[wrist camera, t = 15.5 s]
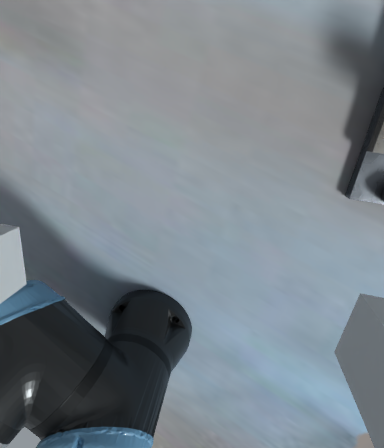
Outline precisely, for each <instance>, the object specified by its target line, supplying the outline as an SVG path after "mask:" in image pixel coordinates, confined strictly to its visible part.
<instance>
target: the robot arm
mask: <svg viewBox="0 0 384 448" xmlns="http://www.w3.org/2000/svg"><path fill="white" fill-rule="evenodd" d="M191 333H192V326H191V322H190V319H189V317H188V315H187V313H186V311H185V310H184V309H183V308H182V306H181V305H180V304H179V303H177V302H176V301H175V300H173V299H172V298H170V297H169V296H167V295H164V294H162V293H159V292H156V291H150V290H139V291H134V292H131V293H128V294H126V295H125V296H123V297H122V298H121V299H120V300H119V301H118V302H117V304H116V305H115V307H114V308H113V310H112V311H111V313H110V316H109V319H108V324H107V329H106V333H105V337H104V336H103V335H102V334H101V333H100V332H99V331H98V330H96V329H95V328H94V327H93V326H92V325H91V324H90V323H89V322H87V321H86V320H85V319H84V318H83V317H82V316H81V315H80V314H79V313H78V312H77V311H76V310H75V309H73V308H72V307H71V306H70V305H69V304H68V303H67V302H66V301H65V298H64V297H63V296H60V295H58V294H57V293H56V292H55V291H54V290H52V289H51V288H50V287H49V286H47V285H46V284H45V283H43V282H42V281H39V280H28V281H26V275H25V268H24V260H23V253H22V245H21V237H20V230H19V227H17V226H11V225H6V224H0V448H5V447H7V446H8V444H9V443H10V442H11V441H12V440H13V439H14V437H15V436H16V435H17V434H18V433H19V431H20V430H21V429H22V428H24V427H26V428H28V429H29V430H30V431H31V432H33V433H34V434H35V435H36V436H38V437H39V438H40V439H41V441H40V442H39V444H38V445H37V447H36V448H151V447H152V445H153V436H154V433H155V429H156V425H157V422H158V418H159V414H160V411H161V407H162V403H163V400H164V396H165V392H166V389H167V385H168V381H169V377H170V374H171V372H172V370H173V369H174V368H175V366H176V365H177V363H178V362H179V361H180V359H181V358H182V356H183V355H184V354H185V352H186V350H187V348H188V346H189V342H190V338H191ZM335 354H336V357H337V359H338V361H339V364H340V366H341V369H342V371H343V373H344V376H345V378H346V381H347V383H348V385H349V388H350V390H351V392H352V395H353V397H354V400H355V402H356V404H357V407H358V409H359V411H360V414H361V416H362V419H363V421H364V423H365V426H366V428H367V431H368V433H369V435H370V438H371V440H372V442H373V445H374V447H375V448H384V298H381V297H375V296H370V295H365V294H360V295H359V297H358V300H357V302H356V304H355V307H354V309H353V311H352V313H351V316H350V318H349V320H348V322H347V325H346V327H345V329H344V331H343V334H342V336H341V338H340V341H339V343H338V345H337V347H336V350H335Z"/></svg>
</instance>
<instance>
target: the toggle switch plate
mask: <svg viewBox="0 0 384 448" xmlns="http://www.w3.org/2000/svg"><path fill="white" fill-rule="evenodd" d="M345 196H346V197H348V198H349V199H354V200H360V201H367V202H373V203H380V204H384V87H383V90H382V93H381V96H380V98H379V101H378V104H377V107H376V110H375V113H374V115H373V118H372V121H371V124H370V127H369V130H368V132H367V135H366V138H365V141H364V144H363V147H362V150H361V152H360V155H359V158H358V161H357V164H356V167H355V169H354V172H353V175H352V178H351V181H350V184H349V186H348V189H347V192H346V195H345Z"/></svg>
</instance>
